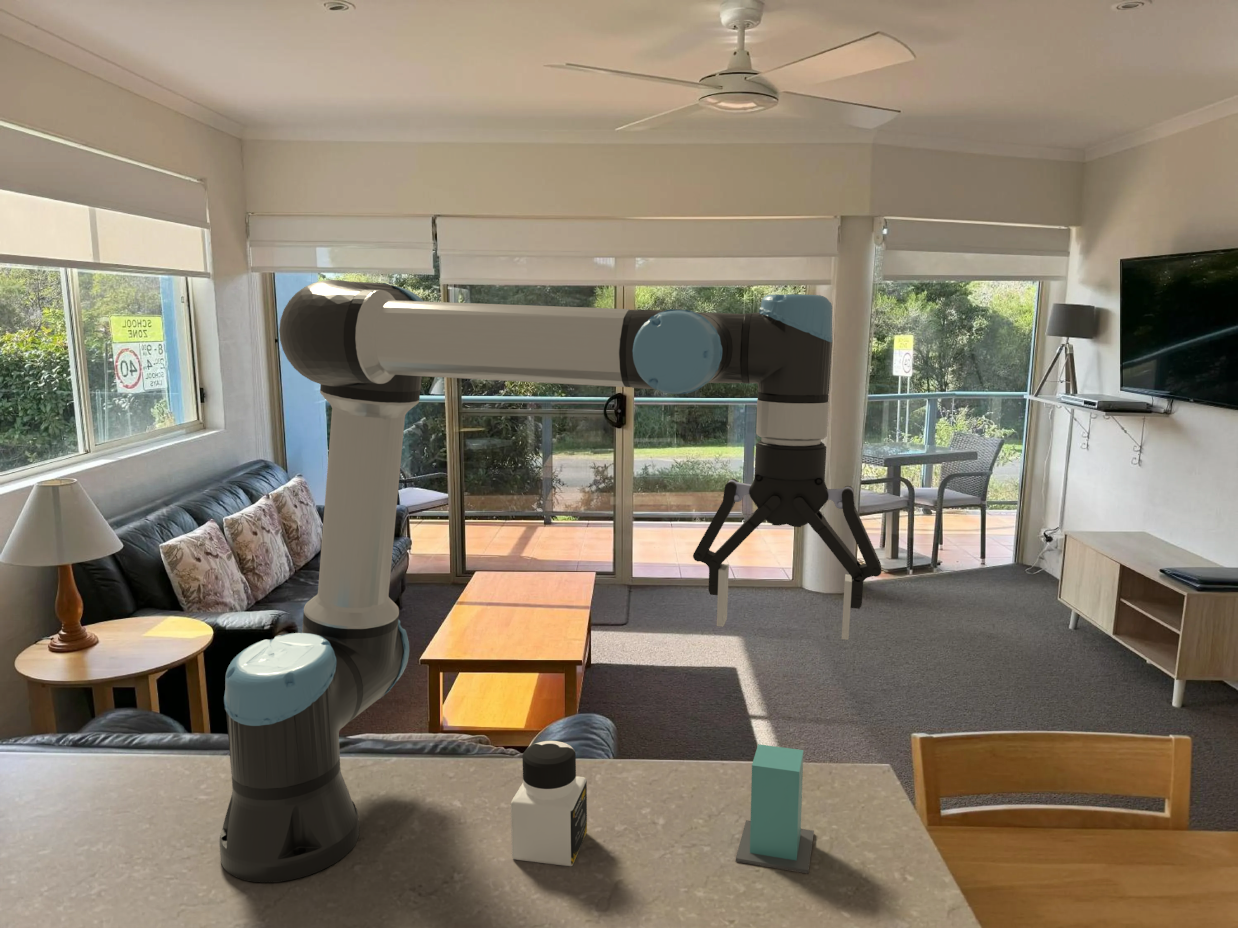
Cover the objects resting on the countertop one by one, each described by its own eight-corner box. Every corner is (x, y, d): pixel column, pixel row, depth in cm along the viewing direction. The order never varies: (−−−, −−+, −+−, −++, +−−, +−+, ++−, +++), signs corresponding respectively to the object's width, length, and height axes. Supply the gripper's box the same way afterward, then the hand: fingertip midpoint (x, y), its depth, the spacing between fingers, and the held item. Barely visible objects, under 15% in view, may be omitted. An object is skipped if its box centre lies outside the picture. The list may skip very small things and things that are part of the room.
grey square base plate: (735, 861, 99) (736, 799, 98) (746, 822, 107) (747, 765, 106) (808, 873, 97) (810, 810, 96) (813, 833, 104) (815, 775, 103)
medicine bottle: (572, 867, 98) (571, 766, 96) (511, 860, 99) (508, 760, 98) (587, 832, 105) (587, 737, 103) (530, 825, 106) (528, 731, 104)
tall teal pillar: (749, 852, 100) (751, 765, 98) (756, 827, 105) (758, 744, 103) (796, 860, 99) (799, 771, 97) (800, 834, 103) (803, 749, 102)
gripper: (910, 441, 96) (898, 629, 99) (684, 430, 102) (679, 607, 105) (914, 450, 88) (900, 653, 92) (670, 438, 95) (665, 627, 98)
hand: (782, 629), depth 99 cm, fingers open, 13 cm apart
